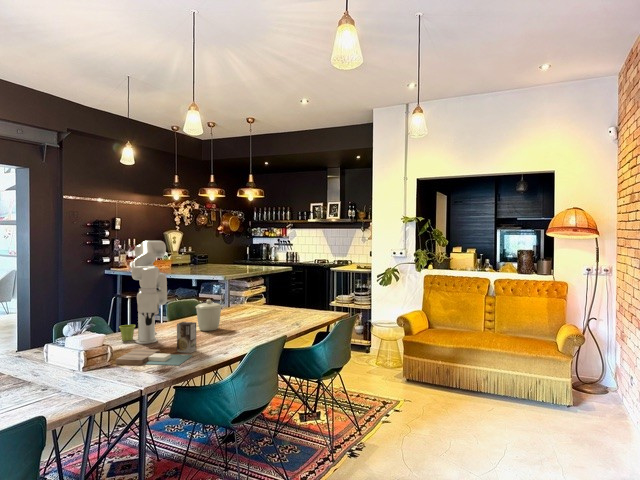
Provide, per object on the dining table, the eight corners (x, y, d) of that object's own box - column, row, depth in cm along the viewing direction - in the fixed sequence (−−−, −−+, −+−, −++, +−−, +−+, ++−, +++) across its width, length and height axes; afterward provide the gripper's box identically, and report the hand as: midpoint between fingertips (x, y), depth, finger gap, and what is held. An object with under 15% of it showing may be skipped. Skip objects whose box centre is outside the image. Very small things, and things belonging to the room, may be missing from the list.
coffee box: (196, 350, 250) (197, 322, 250) (190, 353, 244) (190, 324, 244) (182, 349, 253) (183, 321, 253) (176, 352, 247) (176, 323, 246)
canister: (225, 327, 313) (225, 298, 313) (217, 332, 295) (217, 301, 295) (201, 326, 315) (201, 297, 314) (191, 332, 297) (191, 301, 296)
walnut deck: (135, 353, 243) (135, 348, 243) (159, 354, 242) (159, 349, 242) (115, 363, 223) (115, 359, 223) (141, 364, 222) (141, 359, 222)
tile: (154, 356, 235) (154, 353, 235) (170, 357, 234) (170, 353, 234) (148, 360, 228) (148, 356, 228) (164, 361, 227) (164, 357, 227)
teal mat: (160, 354, 240) (160, 354, 240) (192, 355, 239) (192, 355, 239) (144, 364, 223) (144, 363, 223) (178, 365, 221) (178, 364, 221)
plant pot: (129, 342, 268) (129, 327, 268) (115, 341, 270) (115, 327, 270) (138, 338, 277) (138, 324, 277) (125, 337, 279) (125, 324, 279)
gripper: (131, 291, 230) (131, 326, 231) (159, 292, 229) (159, 327, 230) (138, 289, 238) (138, 322, 238) (165, 290, 237) (165, 323, 237)
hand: (148, 324), depth 234 cm, fingers closed
